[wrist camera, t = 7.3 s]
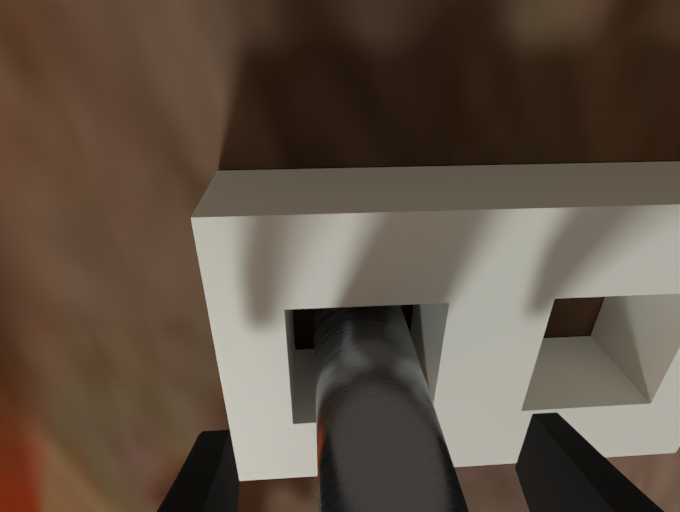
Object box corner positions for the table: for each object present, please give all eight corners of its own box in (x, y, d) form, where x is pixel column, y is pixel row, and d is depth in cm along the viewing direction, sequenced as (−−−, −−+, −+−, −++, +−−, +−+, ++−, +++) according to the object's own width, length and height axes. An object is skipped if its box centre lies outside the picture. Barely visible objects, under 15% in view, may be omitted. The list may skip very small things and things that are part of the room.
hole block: (712, 160, 14) (826, 200, 11) (616, 382, 19) (675, 452, 16) (217, 170, 13) (190, 217, 10) (250, 402, 18) (239, 481, 15)
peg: (400, 261, 15) (504, 526, 7) (388, 328, 16) (462, 610, 9) (315, 257, 15) (327, 530, 7) (310, 326, 16) (314, 616, 8)
